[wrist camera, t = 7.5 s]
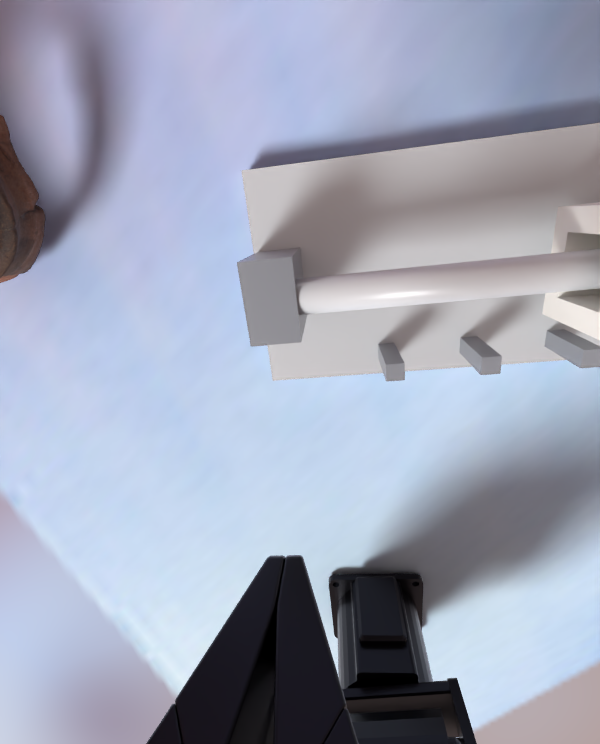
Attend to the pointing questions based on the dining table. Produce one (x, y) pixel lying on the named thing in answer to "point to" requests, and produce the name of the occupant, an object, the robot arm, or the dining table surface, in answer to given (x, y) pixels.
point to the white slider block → (574, 233)
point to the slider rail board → (420, 256)
